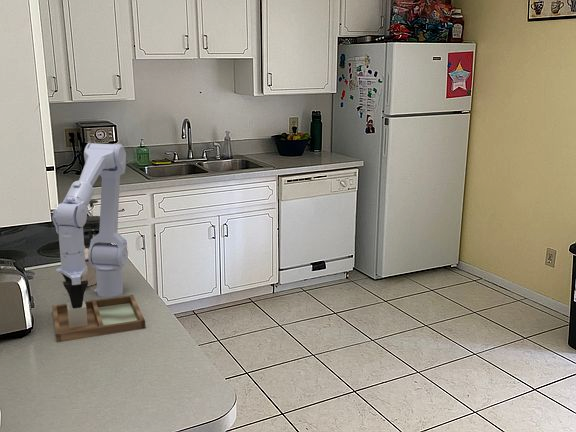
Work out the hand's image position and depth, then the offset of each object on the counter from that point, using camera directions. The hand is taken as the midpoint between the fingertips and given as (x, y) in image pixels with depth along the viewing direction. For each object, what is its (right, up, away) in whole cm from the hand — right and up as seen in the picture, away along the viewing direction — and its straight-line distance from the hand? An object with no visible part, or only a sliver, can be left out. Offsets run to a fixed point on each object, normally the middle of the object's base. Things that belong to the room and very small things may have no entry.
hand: (76, 301), depth 150 cm
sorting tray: (+4, -6, +4) cm, 9 cm away
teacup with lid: (-8, +1, +30) cm, 31 cm away
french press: (-9, +4, +42) cm, 44 cm away
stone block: (0, -6, +2) cm, 6 cm away
